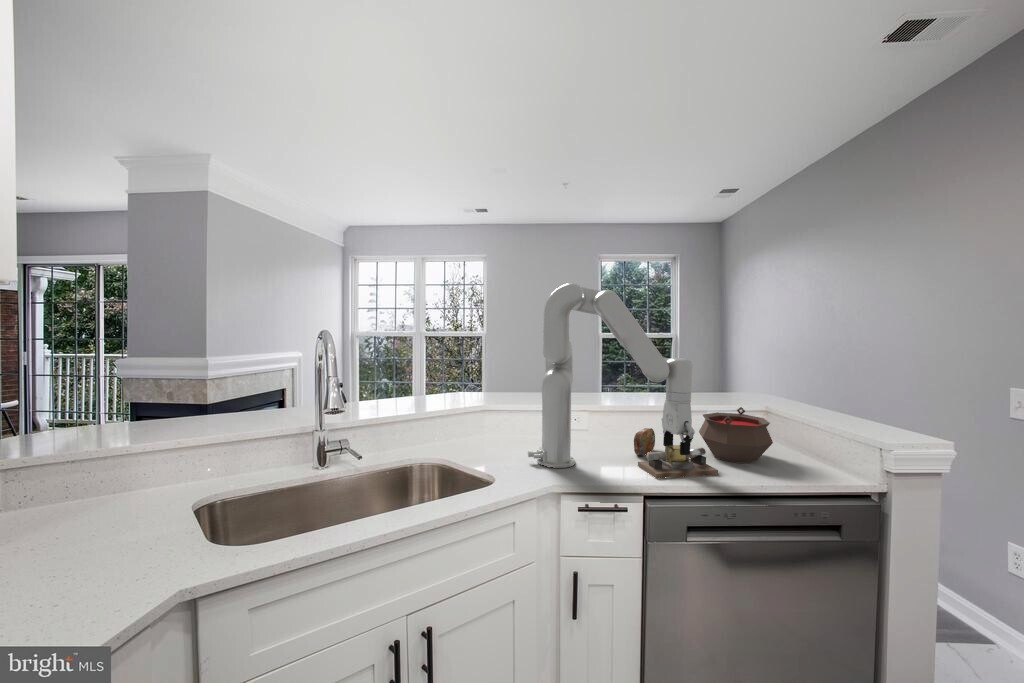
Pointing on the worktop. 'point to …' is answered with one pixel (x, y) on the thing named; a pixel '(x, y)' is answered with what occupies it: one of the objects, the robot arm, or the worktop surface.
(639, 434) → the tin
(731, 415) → the brown cooking pot
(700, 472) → the rig
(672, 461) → the coupler
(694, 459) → the shaft
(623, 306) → the robot arm
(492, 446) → the worktop surface
